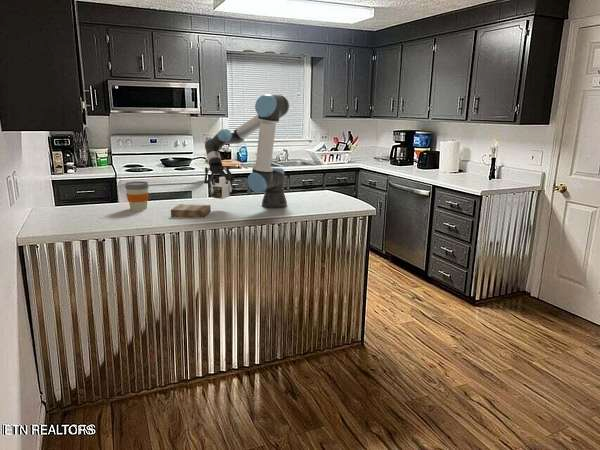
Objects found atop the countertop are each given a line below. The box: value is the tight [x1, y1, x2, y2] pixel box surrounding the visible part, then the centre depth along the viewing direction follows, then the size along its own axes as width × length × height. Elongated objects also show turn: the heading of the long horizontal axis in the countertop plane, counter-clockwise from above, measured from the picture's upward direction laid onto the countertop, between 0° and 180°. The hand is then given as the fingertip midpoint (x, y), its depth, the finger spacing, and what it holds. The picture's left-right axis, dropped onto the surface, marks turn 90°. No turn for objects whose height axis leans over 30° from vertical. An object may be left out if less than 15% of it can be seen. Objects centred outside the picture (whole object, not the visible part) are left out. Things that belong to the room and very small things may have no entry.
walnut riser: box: [170, 204, 212, 219], centre depth 241 cm, size 18×14×4 cm
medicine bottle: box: [211, 175, 230, 200], centre depth 252 cm, size 7×7×12 cm
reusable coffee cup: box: [124, 180, 150, 211], centre depth 252 cm, size 13×13×15 cm
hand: (221, 191), depth 250 cm, fingers closed on medicine bottle, 10 cm apart
